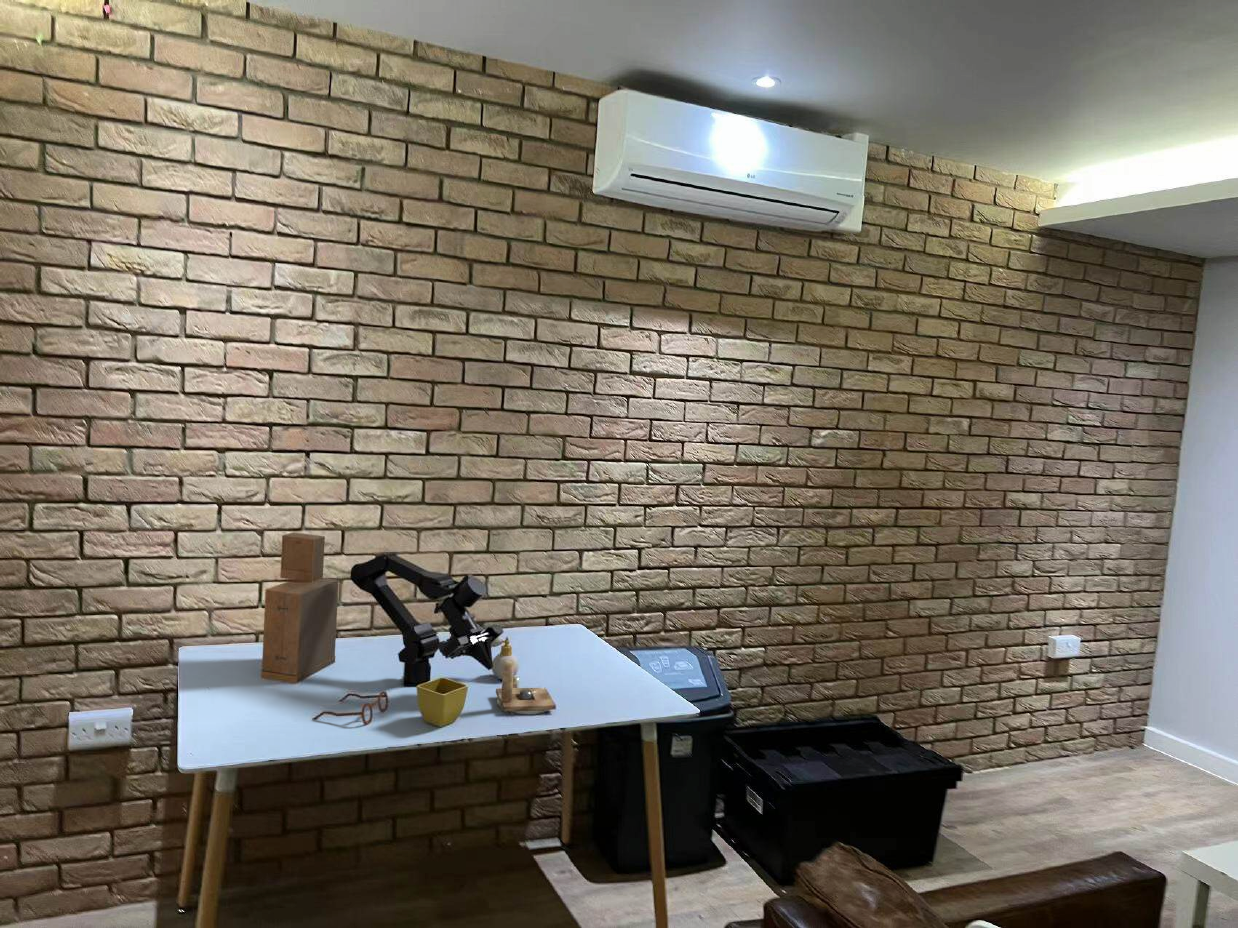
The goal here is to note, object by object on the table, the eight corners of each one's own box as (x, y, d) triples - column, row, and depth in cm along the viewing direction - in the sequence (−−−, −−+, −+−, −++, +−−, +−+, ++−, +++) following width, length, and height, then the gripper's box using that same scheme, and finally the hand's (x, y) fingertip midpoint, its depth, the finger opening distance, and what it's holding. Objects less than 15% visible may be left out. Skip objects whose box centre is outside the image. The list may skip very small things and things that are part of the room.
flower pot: (440, 732, 204) (443, 694, 203) (413, 722, 208) (415, 685, 207) (466, 722, 211) (469, 685, 210) (439, 712, 216) (441, 676, 215)
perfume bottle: (521, 681, 242) (524, 639, 241) (486, 684, 238) (489, 640, 237) (513, 673, 249) (516, 631, 248) (479, 674, 245) (482, 632, 244)
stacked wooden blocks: (288, 655, 249) (294, 532, 246) (335, 662, 246) (341, 537, 243) (247, 675, 230) (252, 542, 227) (296, 683, 228) (303, 548, 225)
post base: (501, 716, 216) (502, 700, 216) (491, 691, 233) (492, 677, 232) (557, 714, 220) (559, 698, 220) (543, 690, 237) (545, 676, 236)
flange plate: (503, 710, 217) (506, 666, 216) (495, 692, 229) (498, 650, 228) (555, 709, 221) (559, 666, 220) (545, 691, 233) (548, 650, 232)
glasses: (364, 728, 203) (365, 707, 203) (312, 720, 206) (313, 699, 205) (389, 709, 216) (390, 689, 216) (339, 702, 219) (340, 682, 218)
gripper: (462, 628, 239) (493, 677, 234) (416, 642, 222) (447, 695, 218) (488, 605, 235) (520, 654, 230) (442, 617, 218) (475, 670, 214)
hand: (491, 668), depth 223 cm, fingers closed
